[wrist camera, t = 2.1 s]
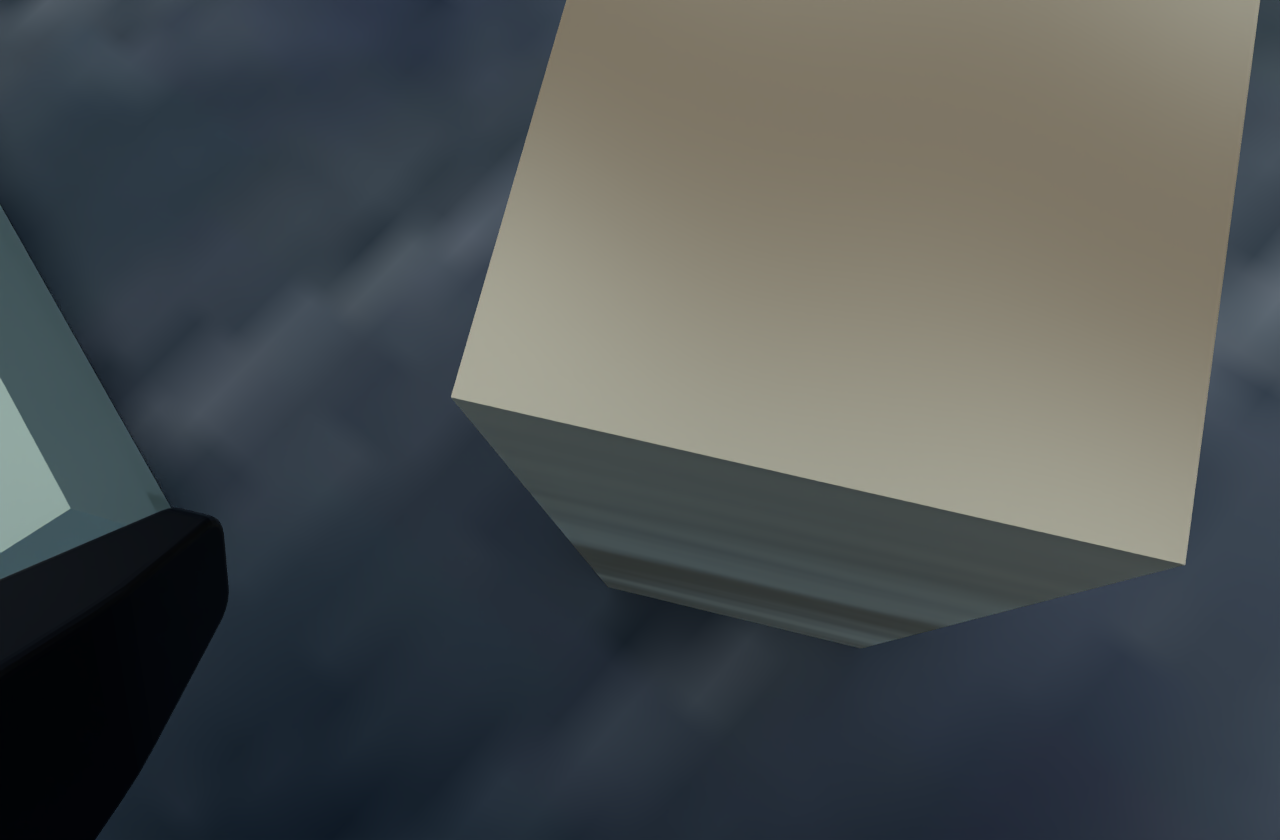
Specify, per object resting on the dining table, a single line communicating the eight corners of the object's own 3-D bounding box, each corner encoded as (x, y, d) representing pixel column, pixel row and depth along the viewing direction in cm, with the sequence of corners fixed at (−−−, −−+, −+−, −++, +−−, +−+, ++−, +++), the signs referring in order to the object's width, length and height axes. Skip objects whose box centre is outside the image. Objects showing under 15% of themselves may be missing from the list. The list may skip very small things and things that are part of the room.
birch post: (861, 648, 19) (1183, 565, 6) (607, 586, 20) (451, 397, 7) (909, 401, 20) (1271, -87, 7) (667, 348, 21) (624, -197, 8)
